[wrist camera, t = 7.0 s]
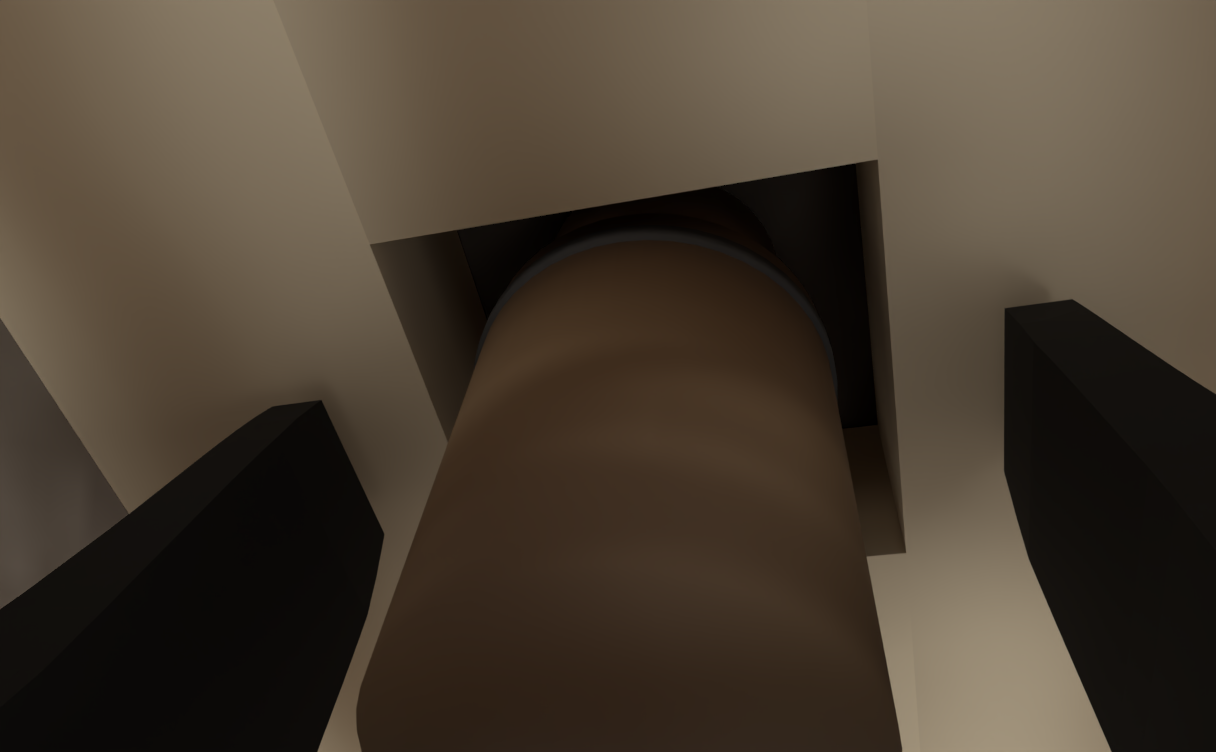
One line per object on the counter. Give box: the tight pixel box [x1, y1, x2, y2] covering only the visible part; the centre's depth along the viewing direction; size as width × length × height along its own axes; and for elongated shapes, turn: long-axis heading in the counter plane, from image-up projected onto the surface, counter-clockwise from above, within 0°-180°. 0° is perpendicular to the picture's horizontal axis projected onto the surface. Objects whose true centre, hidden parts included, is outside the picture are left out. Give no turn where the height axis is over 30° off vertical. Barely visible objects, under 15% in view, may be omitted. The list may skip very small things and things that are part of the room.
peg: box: [356, 187, 902, 752], centre depth 10 cm, size 4×4×7 cm
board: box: [0, 0, 1216, 752], centre depth 10 cm, size 18×18×2 cm
